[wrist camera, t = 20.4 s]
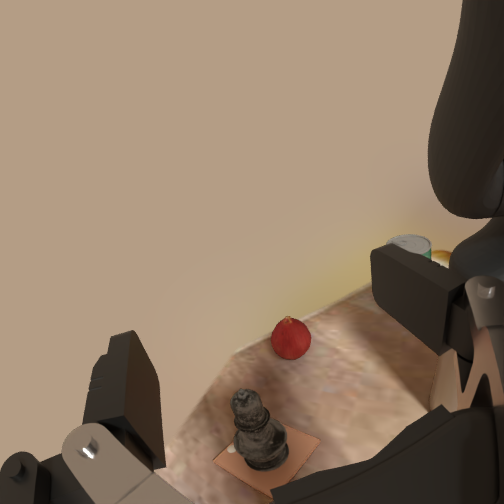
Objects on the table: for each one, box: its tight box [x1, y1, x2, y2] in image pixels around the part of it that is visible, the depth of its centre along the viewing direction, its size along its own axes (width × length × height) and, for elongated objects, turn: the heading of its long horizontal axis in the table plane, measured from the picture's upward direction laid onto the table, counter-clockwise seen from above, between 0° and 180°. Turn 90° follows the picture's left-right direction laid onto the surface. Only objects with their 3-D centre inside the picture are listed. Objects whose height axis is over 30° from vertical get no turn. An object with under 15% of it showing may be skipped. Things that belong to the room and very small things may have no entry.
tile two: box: [213, 424, 320, 498], centre depth 32 cm, size 9×9×1 cm
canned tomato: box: [386, 234, 432, 259], centre depth 50 cm, size 8×8×11 cm
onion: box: [271, 316, 311, 360], centre depth 45 cm, size 6×6×8 cm
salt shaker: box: [230, 389, 289, 472], centre depth 29 cm, size 6×6×12 cm
